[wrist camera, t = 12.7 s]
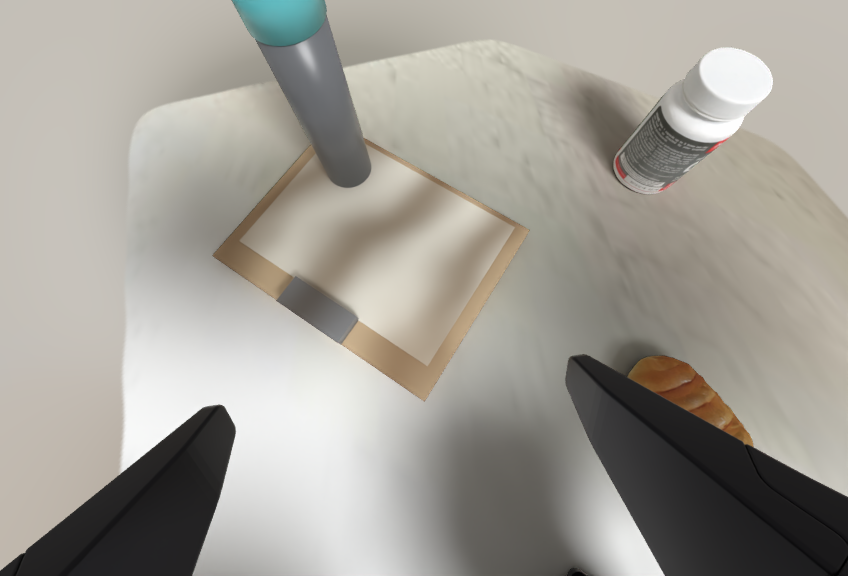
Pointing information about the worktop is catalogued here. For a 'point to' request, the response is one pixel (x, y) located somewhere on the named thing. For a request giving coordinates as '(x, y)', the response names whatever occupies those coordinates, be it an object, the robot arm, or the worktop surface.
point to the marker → (311, 81)
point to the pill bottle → (692, 119)
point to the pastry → (687, 392)
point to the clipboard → (377, 261)
